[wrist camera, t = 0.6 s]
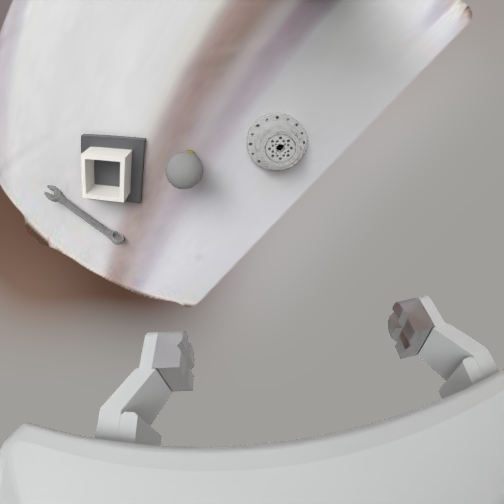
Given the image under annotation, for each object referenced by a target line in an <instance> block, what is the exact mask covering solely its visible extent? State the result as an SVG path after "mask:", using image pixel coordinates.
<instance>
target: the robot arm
mask: <svg viewBox="0 0 504 504" xmlns="http://www.w3.org/2000/svg"><path fill="white" fill-rule="evenodd" d="M393 311H394V312H393V313H392V314H391V315H390V317H389V320H388V329H389V333H390V336H391V338H393V339H394V340H395V341H396V345H395V347H396V349H397V352H398V354H399V356H400V359H402V358H406V357H410V356H414V355H417V354H418V356H419V357H420V358H421V359H422V360H423V361H424V362H425V363H427V364H428V365H429V366H430V367H431V368H432V369H433V370H435V371H436V372H437V373H438V374H439V375H440V376H441V377H442V378H444V379H445V380H446V382H445V383H444V384H443V385H442V386H441V388H440V390H439V393H440V395H441V398H442V399H441V400H438V401H436V402H433V403H431V404H428V405H426V406H423V407H421V408H418V409H415V410H412V411H409V412H406V413H404V414H400V415H397V416H394V417H391V418H388V419H384V420H381V421H378V422H374V423H371V424H367V425H363V426H360V427H355V428H351V429H347V430H343V431H339V432H334V433H329V434H324V435H319V436H314V437H308V438H301V439H296V440H288V441H281V442H272V443H263V444H253V445H239V446H216V447H180V446H179V447H178V446H161V435H160V434H159V433H158V432H156V431H155V430H154V429H153V428H152V427H151V424H152V423H153V421H154V420H155V418H156V417H157V415H158V414H159V412H160V411H161V409H162V407H163V406H164V405H165V403H166V401H167V400H168V399H169V397H170V395H171V394H172V391H192V390H193V377H194V376H193V374H192V372H191V369H192V368H193V366H194V352H193V348H192V345H191V343H189V342H188V336H187V334H186V332H185V331H184V332H154V333H147V334H146V336H145V339H144V344H143V349H142V355H141V360H140V365H139V368H138V369H135V370H134V371H133V372H132V373H131V374H130V375H129V377H128V378H127V379H126V380H125V381H124V382H123V383H122V384H121V386H120V387H119V388H118V389H117V390H116V391H115V392H114V393H113V395H112V396H111V397H110V398H109V399H108V400H107V401H106V402H105V404H104V405H103V406H102V407H101V408H100V414H99V419H98V424H97V430H96V436H95V438H92V437H86V436H81V435H76V434H71V433H67V432H63V431H58V430H54V429H50V428H47V427H43V426H39V425H36V424H32V423H24V424H23V425H21V426H20V427H19V428H18V429H17V430H15V431H14V432H13V433H12V434H11V435H10V436H9V437H8V438H7V439H6V441H5V442H4V443H3V445H2V448H1V450H0V504H504V369H502V370H501V371H498V369H497V367H496V365H495V363H494V361H493V359H492V357H491V355H490V354H489V352H488V350H487V348H485V347H484V346H482V345H481V344H479V343H478V342H476V341H475V340H473V339H472V338H470V337H469V336H467V335H465V334H464V333H462V332H461V331H459V330H458V329H456V328H455V327H453V326H452V325H450V324H448V323H447V324H445V322H444V321H443V319H442V317H441V316H440V314H439V312H438V311H437V309H436V307H435V306H434V304H433V302H432V301H431V299H430V298H429V297H428V296H422V297H418V298H412V299H408V300H404V301H400V302H396V303H395V304H394V306H393Z"/></svg>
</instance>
